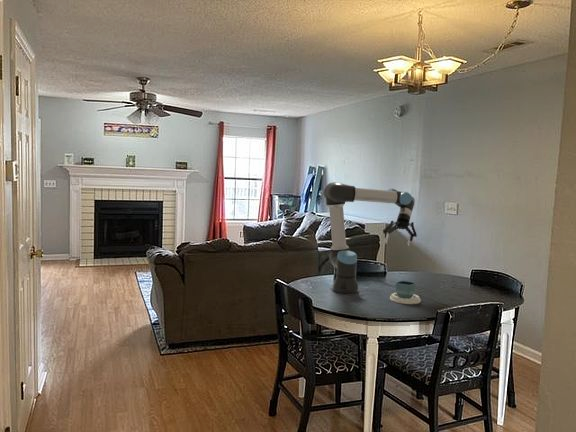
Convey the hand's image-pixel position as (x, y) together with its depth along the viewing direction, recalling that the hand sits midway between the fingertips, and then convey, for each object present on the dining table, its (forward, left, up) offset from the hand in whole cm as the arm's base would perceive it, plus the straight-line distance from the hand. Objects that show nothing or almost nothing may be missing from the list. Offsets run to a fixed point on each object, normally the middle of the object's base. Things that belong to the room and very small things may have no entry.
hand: (396, 243), depth 294 cm
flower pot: (-6, -16, -29) cm, 34 cm away
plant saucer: (-6, -17, -30) cm, 35 cm away
